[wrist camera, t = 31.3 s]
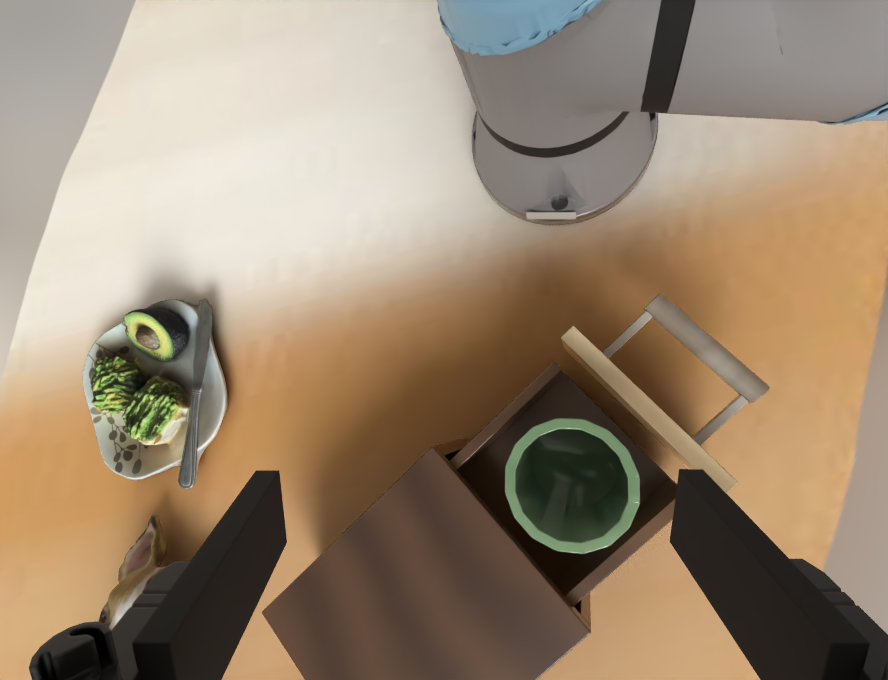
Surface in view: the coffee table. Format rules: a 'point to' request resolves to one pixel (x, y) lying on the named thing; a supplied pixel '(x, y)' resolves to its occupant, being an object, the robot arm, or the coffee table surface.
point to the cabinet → (427, 592)
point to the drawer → (564, 397)
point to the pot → (572, 484)
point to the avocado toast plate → (156, 390)
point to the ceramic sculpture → (136, 572)
